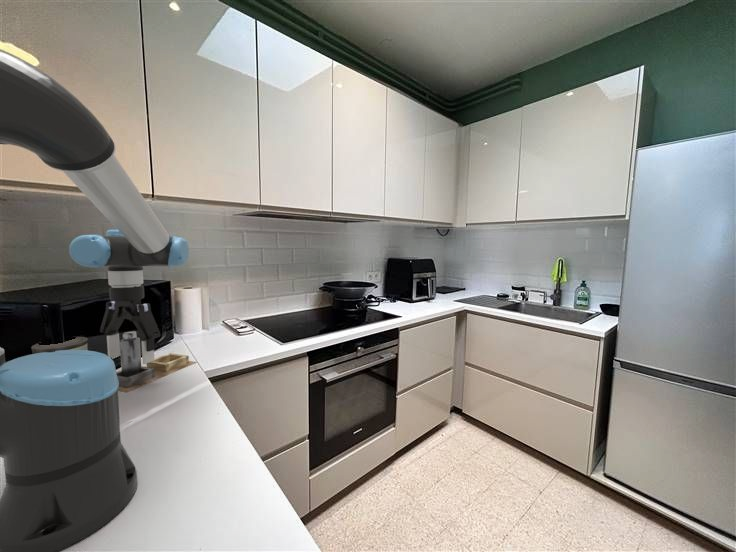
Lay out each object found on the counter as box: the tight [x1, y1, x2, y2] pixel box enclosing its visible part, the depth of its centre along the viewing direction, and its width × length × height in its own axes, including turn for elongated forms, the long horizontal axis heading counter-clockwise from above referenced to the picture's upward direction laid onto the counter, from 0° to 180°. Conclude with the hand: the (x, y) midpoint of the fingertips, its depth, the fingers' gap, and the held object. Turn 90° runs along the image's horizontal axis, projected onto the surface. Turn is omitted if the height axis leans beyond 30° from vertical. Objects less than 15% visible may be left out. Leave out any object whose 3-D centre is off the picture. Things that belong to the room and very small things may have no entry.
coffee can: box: [30, 336, 89, 354], centre depth 78 cm, size 10×10×14 cm
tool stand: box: [116, 352, 198, 393], centre depth 88 cm, size 22×12×4 cm, turn 164°
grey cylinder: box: [119, 330, 142, 377], centre depth 82 cm, size 4×4×14 cm
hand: (131, 359), depth 82 cm, fingers open, 13 cm apart
